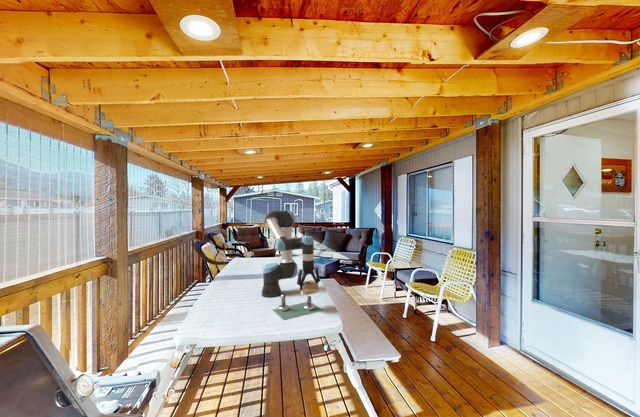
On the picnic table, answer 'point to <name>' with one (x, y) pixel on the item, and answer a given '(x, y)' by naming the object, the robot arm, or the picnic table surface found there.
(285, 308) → the stand
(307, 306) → the hub
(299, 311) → the mat
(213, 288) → the picnic table surface
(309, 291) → the square wooden frame
